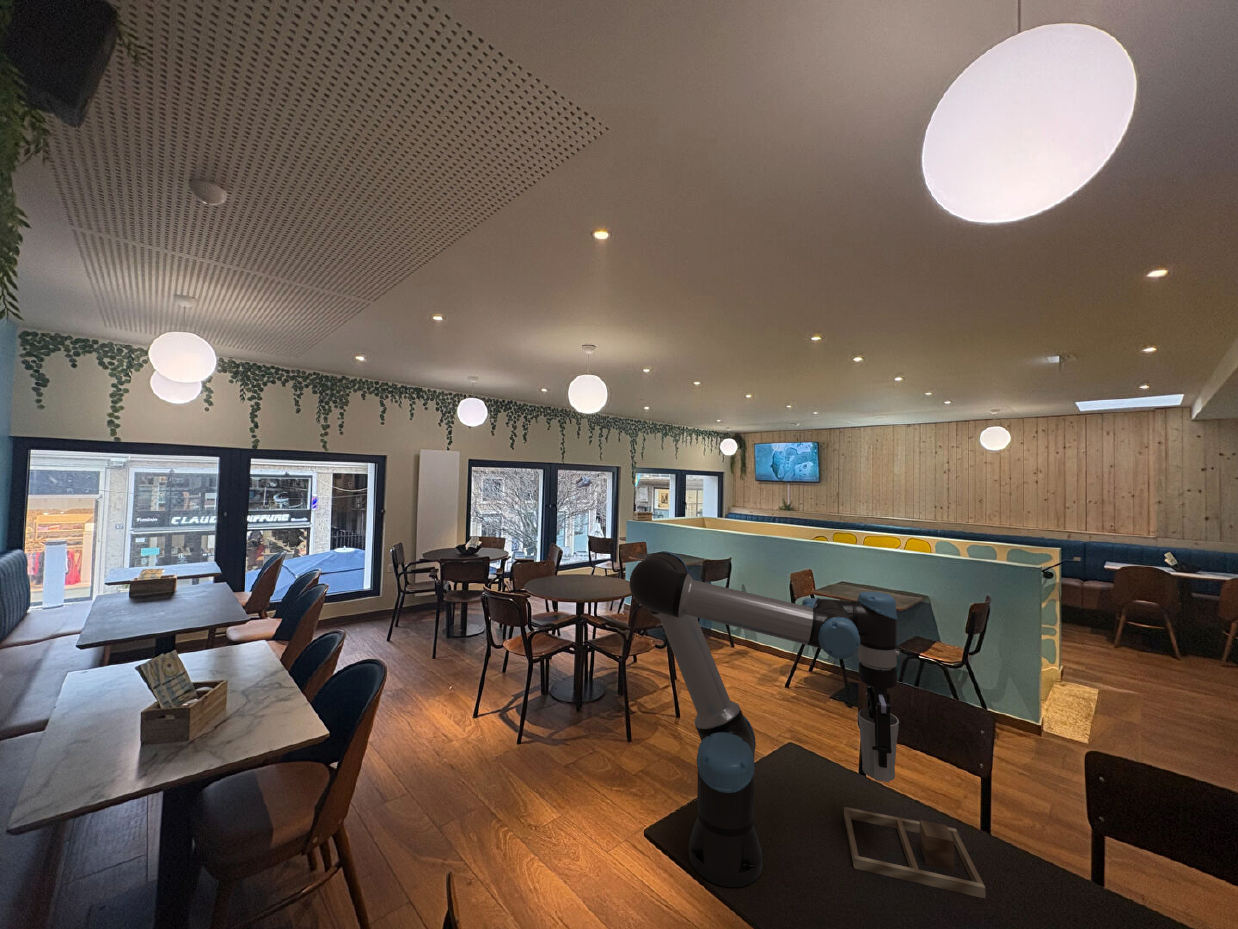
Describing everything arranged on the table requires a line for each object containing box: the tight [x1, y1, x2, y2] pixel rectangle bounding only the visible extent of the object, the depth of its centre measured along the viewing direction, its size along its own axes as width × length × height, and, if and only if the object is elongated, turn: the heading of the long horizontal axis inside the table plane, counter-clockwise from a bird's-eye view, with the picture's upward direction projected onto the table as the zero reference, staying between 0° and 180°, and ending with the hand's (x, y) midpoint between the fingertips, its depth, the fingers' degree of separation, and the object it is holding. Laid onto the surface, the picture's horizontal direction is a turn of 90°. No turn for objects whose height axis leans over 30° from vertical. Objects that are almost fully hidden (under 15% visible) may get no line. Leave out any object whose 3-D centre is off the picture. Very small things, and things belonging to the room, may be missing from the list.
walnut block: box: [919, 819, 955, 872], centre depth 105 cm, size 5×5×6 cm
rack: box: [843, 806, 986, 899], centre depth 107 cm, size 23×17×2 cm
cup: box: [857, 708, 900, 782], centre depth 109 cm, size 8×8×12 cm
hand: (878, 769), depth 109 cm, fingers closed on cup, 7 cm apart
